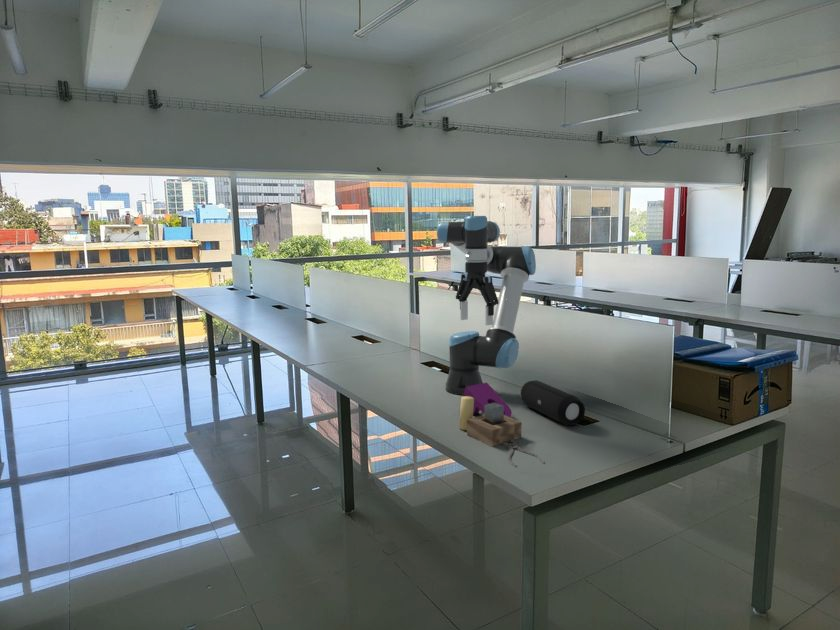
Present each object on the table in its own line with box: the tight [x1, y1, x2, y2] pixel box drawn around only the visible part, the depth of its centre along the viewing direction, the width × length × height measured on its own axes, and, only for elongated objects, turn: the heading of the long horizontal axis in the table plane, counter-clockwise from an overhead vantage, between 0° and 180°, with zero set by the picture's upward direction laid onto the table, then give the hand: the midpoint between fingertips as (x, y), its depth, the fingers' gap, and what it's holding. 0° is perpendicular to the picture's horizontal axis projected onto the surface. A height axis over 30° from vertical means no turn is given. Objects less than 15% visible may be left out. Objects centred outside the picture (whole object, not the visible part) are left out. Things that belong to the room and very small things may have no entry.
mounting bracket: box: [462, 382, 513, 418], centre depth 197 cm, size 9×8×18 cm
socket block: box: [466, 414, 522, 447], centre depth 178 cm, size 12×12×5 cm
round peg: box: [458, 395, 474, 431], centre depth 184 cm, size 4×4×10 cm
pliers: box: [501, 439, 546, 468], centre depth 165 cm, size 10×1×20 cm
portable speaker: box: [520, 380, 586, 426], centre depth 195 cm, size 26×10×10 cm, turn 23°
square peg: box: [485, 403, 504, 425], centre depth 177 cm, size 4×4×10 cm
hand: (476, 322), depth 199 cm, fingers open, 13 cm apart
